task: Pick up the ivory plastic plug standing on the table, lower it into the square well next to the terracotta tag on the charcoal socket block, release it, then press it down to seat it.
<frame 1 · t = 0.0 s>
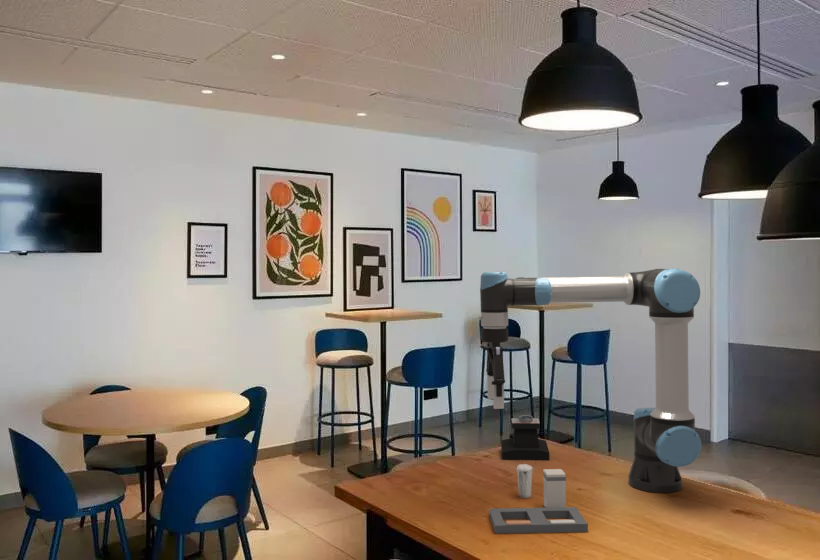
hand: (495, 403, 191), 28 cm above the table, fingers open, 13 cm apart
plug: (554, 508, 187), on the table
socket block: (536, 523, 176), on the table
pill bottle: (526, 497, 197), on the table
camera: (524, 455, 241), on the table
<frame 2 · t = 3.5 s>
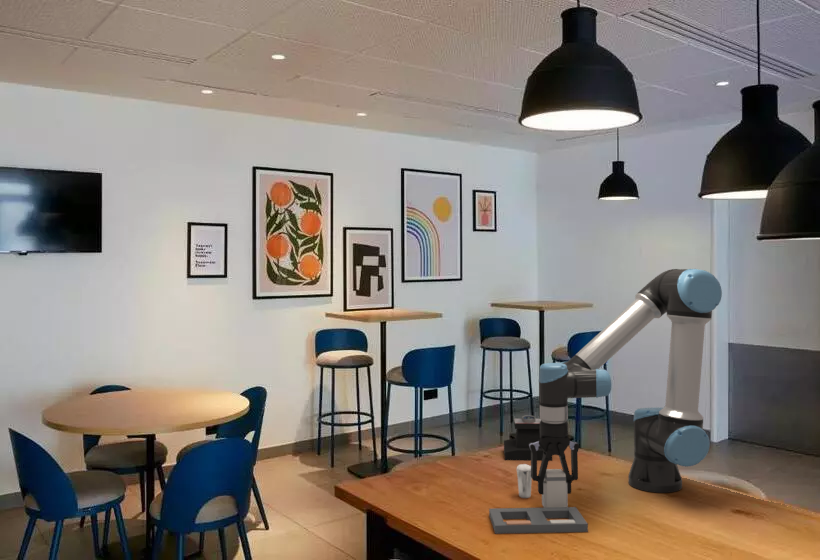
hand: (554, 505, 187), 1 cm above the table, fingers closed on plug, 5 cm apart
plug: (554, 508, 187), on the table, touching gripper
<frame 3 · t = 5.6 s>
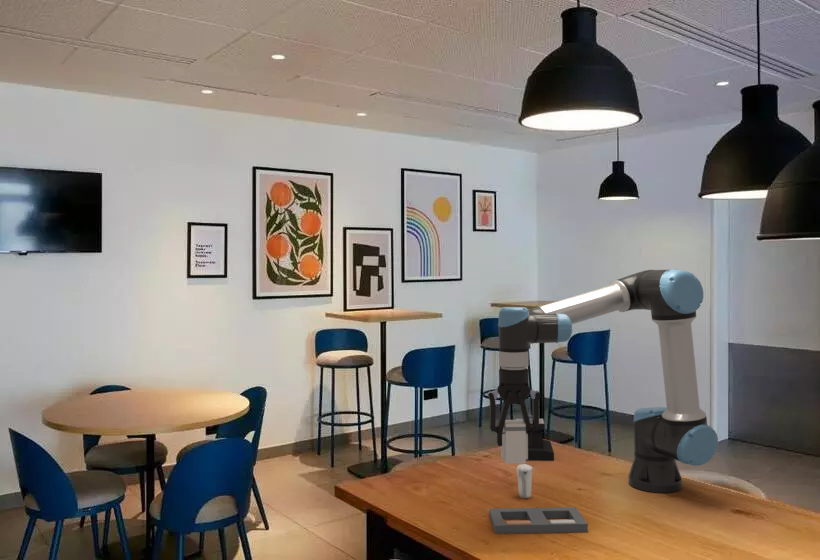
hand: (514, 457, 176), 17 cm above the table, fingers closed on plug, 5 cm apart
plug: (514, 460, 176), point 16 cm above the table, touching gripper
when the fingers open (3 cm above the table, at t = 7.8 s): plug drops 3 cm, resting in socket block.
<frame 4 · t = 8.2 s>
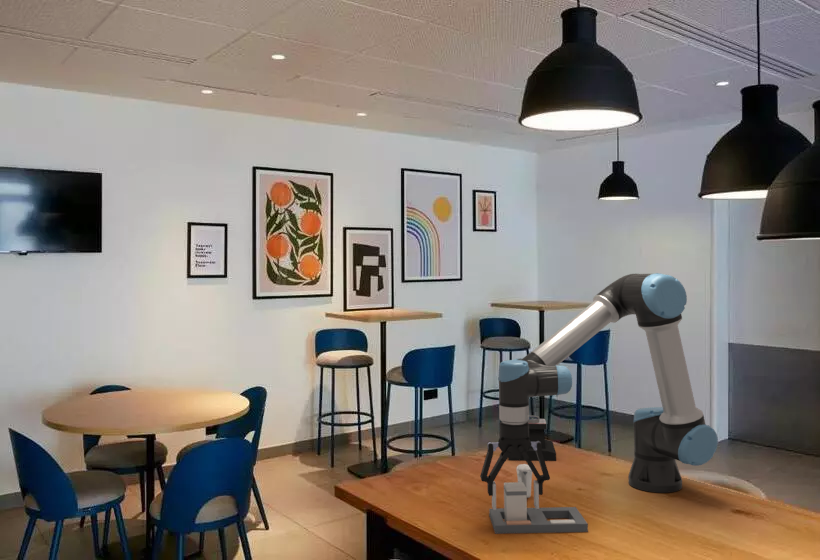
hand: (515, 507, 176), 4 cm above the table, fingers open, 10 cm apart
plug: (515, 524, 176), resting in socket block
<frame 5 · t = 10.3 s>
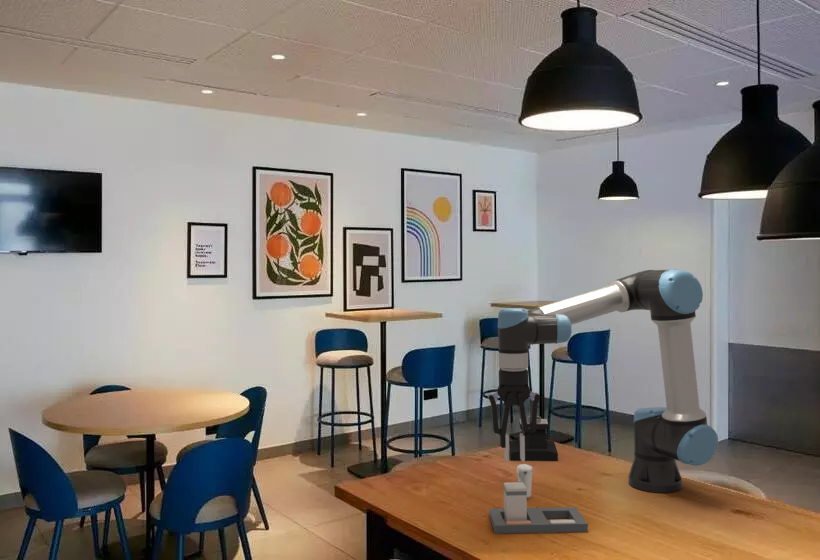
hand: (514, 459, 176), 17 cm above the table, fingers open, 3 cm apart
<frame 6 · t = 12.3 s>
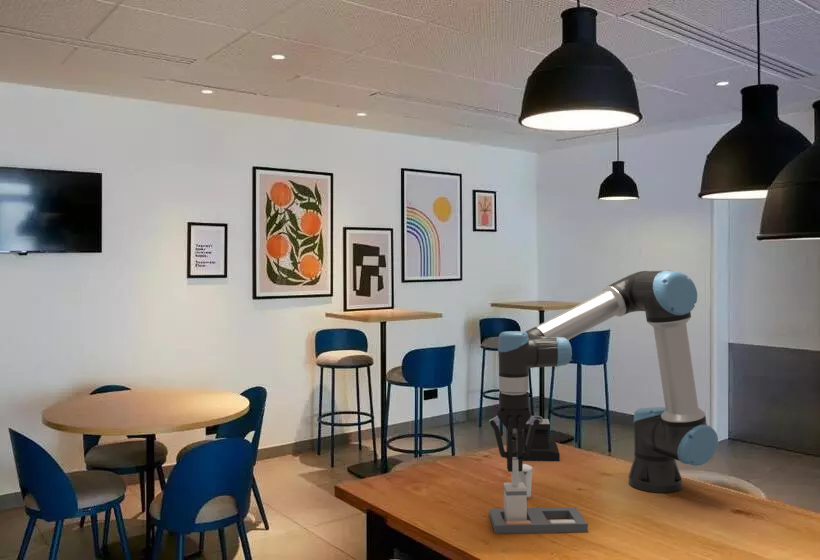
hand: (514, 483, 176), 10 cm above the table, fingers closed
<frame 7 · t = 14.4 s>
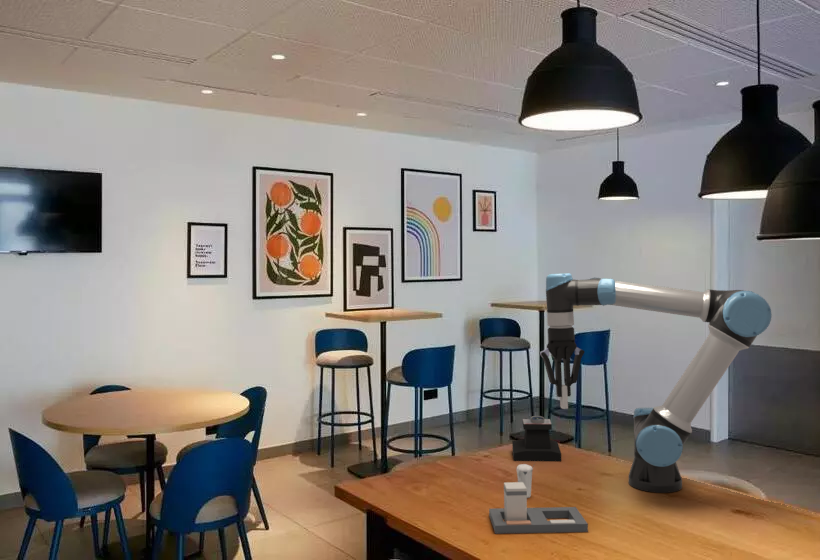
hand: (564, 407, 199), 25 cm above the table, fingers closed
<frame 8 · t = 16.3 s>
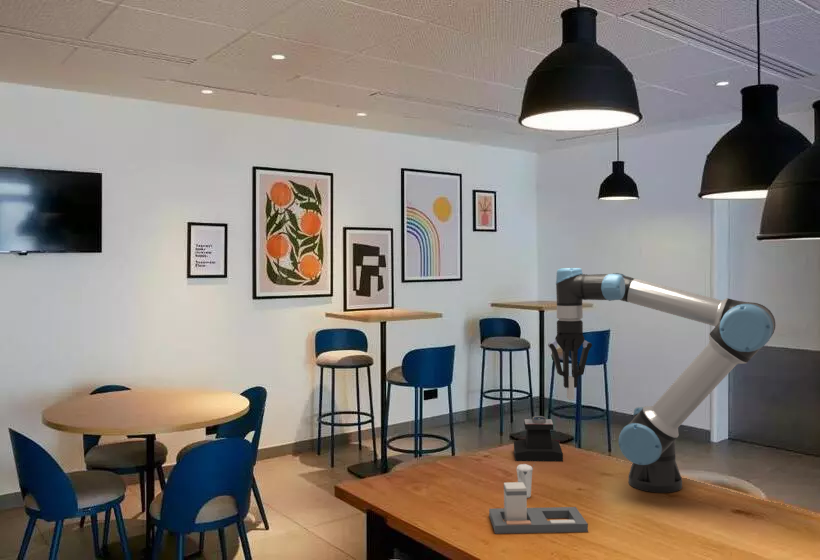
hand: (570, 398, 205), 26 cm above the table, fingers closed
at the end: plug 0.0 cm from the target spot on the socket block, point 0.0 cm above the socket block's base; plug tilted 0°; the gripper is holding nothing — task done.
